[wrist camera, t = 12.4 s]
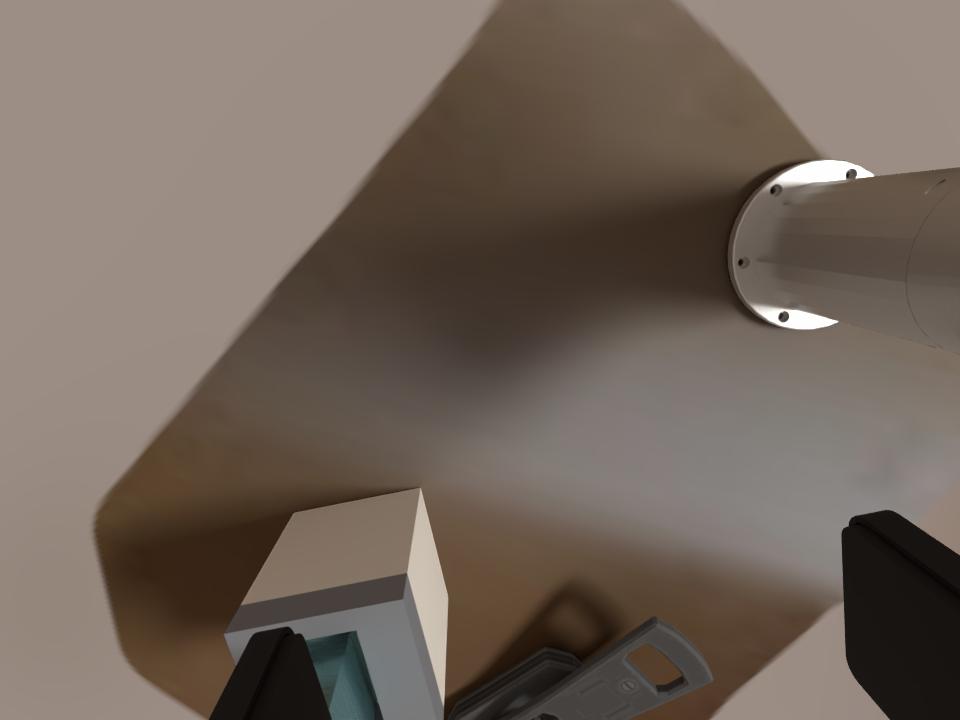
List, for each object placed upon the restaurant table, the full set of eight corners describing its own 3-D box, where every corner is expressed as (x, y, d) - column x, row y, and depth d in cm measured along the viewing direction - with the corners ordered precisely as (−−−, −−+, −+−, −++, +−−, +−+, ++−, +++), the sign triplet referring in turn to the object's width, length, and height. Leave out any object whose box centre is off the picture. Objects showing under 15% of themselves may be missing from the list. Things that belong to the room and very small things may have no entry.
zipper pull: (727, 682, 44) (497, 846, 48) (693, 623, 50) (493, 771, 54) (659, 614, 42) (426, 790, 46) (633, 562, 49) (431, 720, 52)
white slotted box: (420, 487, 46) (402, 599, 32) (448, 596, 49) (442, 742, 35) (293, 512, 46) (223, 634, 33) (328, 620, 49) (276, 773, 35)
